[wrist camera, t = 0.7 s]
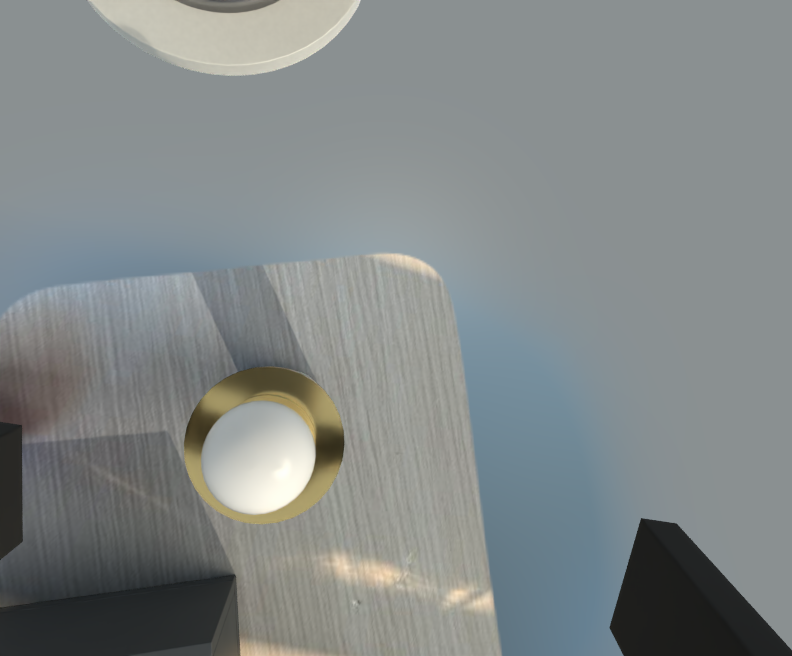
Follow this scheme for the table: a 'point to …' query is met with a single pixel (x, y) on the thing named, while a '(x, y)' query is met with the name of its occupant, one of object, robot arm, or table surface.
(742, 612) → the robot arm
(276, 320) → the table surface
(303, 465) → the perfume bottle
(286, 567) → the table surface
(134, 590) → the bin
